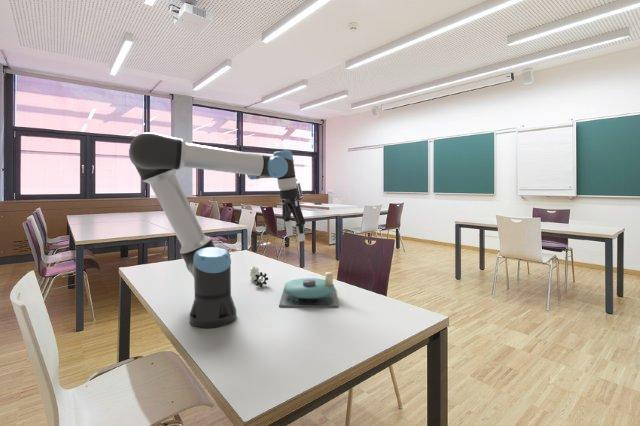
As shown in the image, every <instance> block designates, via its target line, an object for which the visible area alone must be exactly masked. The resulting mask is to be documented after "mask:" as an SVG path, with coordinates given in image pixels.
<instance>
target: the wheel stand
mask: <svg viewBox="0 0 640 426" xmlns="http://www.w3.org/2000/svg"><path fill="white" fill-rule="evenodd" d="M278 307H279V308H339V302H338V298H337V291H336V287H335V286H334V292H333V293H332V294H331V295H329V296H326V297H321V298H310V299H308V298H297V297H293V296H290V295H288V294H286V293H285V291H284V289H283V291H282V294H281V296H280V300H279V304H278Z"/></svg>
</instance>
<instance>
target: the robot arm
mask: <svg viewBox="0 0 640 426" xmlns="http://www.w3.org/2000/svg"><path fill="white" fill-rule="evenodd" d="M128 155H129V159H130V161H131V164H133V166H134V167H135V169H136V170H137V172H138V175H139V177H140V179H141V180H142V182H144V183H147V184H149V185H150V187H151V189H152V191H153V193H154V196H155V197H156V199H157V201H158V203H159V204H160V207H161V208H162V210H163V212H164V215H165V216H166V218H167V220H168V222H169V224H170V226H171V228H172V229H173V231H174V233H175V235H176V238H177V240H178V241H179V243H180V245H181V247H180V250H179V253H180V255H181V257H182V258H183V259H182V260H184V262H185V266H186V269H187V270H188V272H189V273H190V274H191V275H192V276H193V277H192V278H193V279H194V282H193V285H194V300H193V303H192V305H191V309H190V311H189V324H190V325H191V326H193V327H197V328H202V329H211V328H212V329H213V328H218V327H222V326H227V325H228V324H230V323H232V322H234V321H235V320H236V319H237V308H236V306H235V302H234V300H233V299H234V298H233V297H232V284H231V283H232V281H231V279H232V277H231V276H232V273H231V272H232V271H231V270H232V269H231V267H232V266H231V264H232V258H231V254H230V252H229V251H228V250H227V249H225V248H221V247H217V246H216V245H215V243H214V241H213V239H212V237H210V236H208V235H205V233H204V231H203V229H202V227H201V225H200V223H199V220H198V219H197V216H196V215H195V213H194V211H193V208H192V207H191V204H190V202H189V201H188V199H187V196H186V194H185V192H184V190H183V188H182V185H181V184H180V181H179V180H178V178H177V176H176V172H177V170H181V169H183V168H191V169H196V170H197V169H199V170H206V171H213V172H223V173H231V174H240V175H246V176H247V178H248V179H250V180H260V179H273V178H274V179H277V186H278V190H279V197H280V199H281V204H282V207H281V208H282V214H281V215H282V216H281V217H282V220H283V221H284V226H285V230H286V236H287V237H291V236H294V229H293V224H292V223H293V222H292V218H291V215H292V216H293V219H294V222H295V228H296V234H297V240H298V242H299V243H300V242H305V241H306V237H305V235H306V234H305V229H304V225H305V224H306V221H305V218H304V214H303V211H302V209H301V206H300V205H301V204H300V201H299V200H296V198H298V197H299V190H298V189H299V188H297V186H298V185H297V181H298V179H297V177H296V171H295V163H294V157H293V152H292V151H291V150H289V149H287V150H280V151H274V152H273V156H270V155H265V154H260V153H251V152H246V151H240V150H233V149H227V148H226V149H225V148H221V147H220V148H219V147H214V146H209V145H201V144H197V143H189V142H185V141H184V139H183V138H180V137H173V136H169V135H165V134H164V135H163V134H161V133H157V132H143V133H139V134H138V135H137V136H135V137H134V138H133V139H132V140H131V142H130V145H129V148H128Z"/></svg>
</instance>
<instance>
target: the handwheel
mask: <svg viewBox="0 0 640 426" xmlns="http://www.w3.org/2000/svg"><path fill="white" fill-rule="evenodd" d="M324 274H325V275H324V277H325V279H322V278H315V277H314V278H313V277H303V278H296V279H292V280H288V281H287V282H285V283H284V287H283V290H284V291H285V293H286V294H288V295H290V296H293V297H297V298H308V299H310V298H321V297H326V296H329V295H331V294H332V293H333V292H334V287H335V284H334V281H333V280H334V273H333V272H330V271H328V272H327V271H326V272H325V273H324Z"/></svg>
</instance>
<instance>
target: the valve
mask: <svg viewBox="0 0 640 426" xmlns="http://www.w3.org/2000/svg"><path fill="white" fill-rule="evenodd" d="M249 276H250V282H251V283H255V284H254V285H255V286H257V287H258V286H259V287H261V288H262V287H263V285H267V281H269V277H268V276H267V273H264V274H263V271H260V270H259V266H252V267H251V266H250V273H249ZM266 276H267V277H266ZM263 278H264V279H263Z"/></svg>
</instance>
